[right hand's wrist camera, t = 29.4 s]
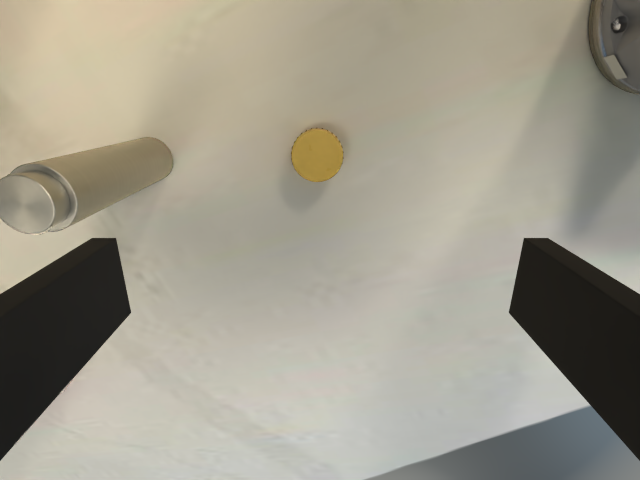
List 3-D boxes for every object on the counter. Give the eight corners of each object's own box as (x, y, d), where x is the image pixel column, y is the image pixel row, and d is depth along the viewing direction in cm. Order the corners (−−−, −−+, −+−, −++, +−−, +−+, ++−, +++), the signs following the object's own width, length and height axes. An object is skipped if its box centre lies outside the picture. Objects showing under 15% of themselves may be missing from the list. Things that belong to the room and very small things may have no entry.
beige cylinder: (121, 153, 40) (-32, 195, 22) (153, 128, 39) (18, 152, 21) (150, 188, 41) (27, 253, 24) (182, 164, 40) (77, 215, 23)
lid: (349, 169, 40) (350, 172, 39) (302, 185, 41) (301, 189, 39) (333, 120, 38) (334, 121, 37) (284, 137, 39) (282, 139, 37)
